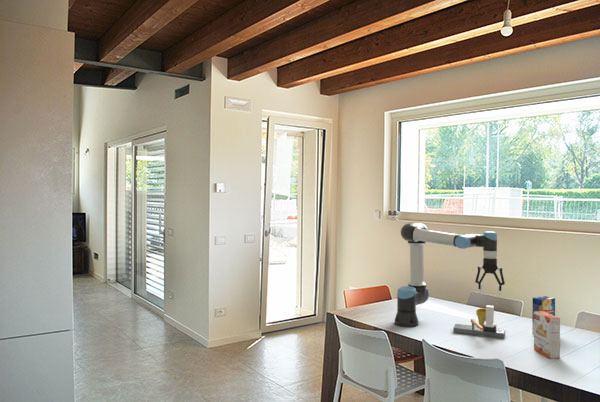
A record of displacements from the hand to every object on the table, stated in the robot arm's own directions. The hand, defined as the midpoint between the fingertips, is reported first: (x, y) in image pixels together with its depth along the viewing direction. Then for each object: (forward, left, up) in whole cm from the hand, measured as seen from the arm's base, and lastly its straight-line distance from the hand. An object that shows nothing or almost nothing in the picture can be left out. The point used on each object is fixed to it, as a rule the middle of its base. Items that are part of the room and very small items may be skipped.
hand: (489, 295), depth 278 cm
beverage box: (+29, +14, -24) cm, 40 cm away
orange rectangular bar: (-6, -11, -20) cm, 24 cm away
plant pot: (-4, +20, -24) cm, 31 cm away
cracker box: (+29, -24, -24) cm, 44 cm away
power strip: (-6, 0, -23) cm, 24 cm away
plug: (0, -1, -20) cm, 20 cm away
